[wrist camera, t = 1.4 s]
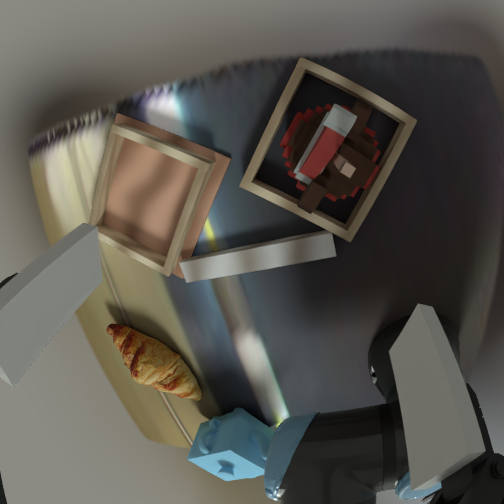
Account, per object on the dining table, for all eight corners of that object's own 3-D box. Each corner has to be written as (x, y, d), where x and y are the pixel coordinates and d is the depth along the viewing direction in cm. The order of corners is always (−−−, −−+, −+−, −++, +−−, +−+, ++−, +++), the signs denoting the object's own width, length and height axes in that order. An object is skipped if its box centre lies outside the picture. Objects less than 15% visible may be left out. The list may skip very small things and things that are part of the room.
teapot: (245, 446, 58) (233, 492, 47) (193, 411, 56) (173, 460, 44) (310, 424, 51) (305, 480, 40) (256, 383, 49) (241, 444, 37)
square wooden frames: (410, 120, 29) (418, 120, 26) (288, 327, 43) (286, 340, 40) (157, 18, 28) (146, 12, 26) (90, 226, 42) (79, 233, 39)
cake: (339, 207, 35) (363, 281, 18) (270, 168, 34) (233, 208, 18) (384, 131, 30) (454, 140, 14) (313, 89, 30) (318, 50, 13)
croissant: (217, 373, 54) (220, 393, 46) (185, 405, 53) (184, 428, 46) (128, 301, 51) (116, 313, 43) (98, 339, 50) (84, 355, 42)
